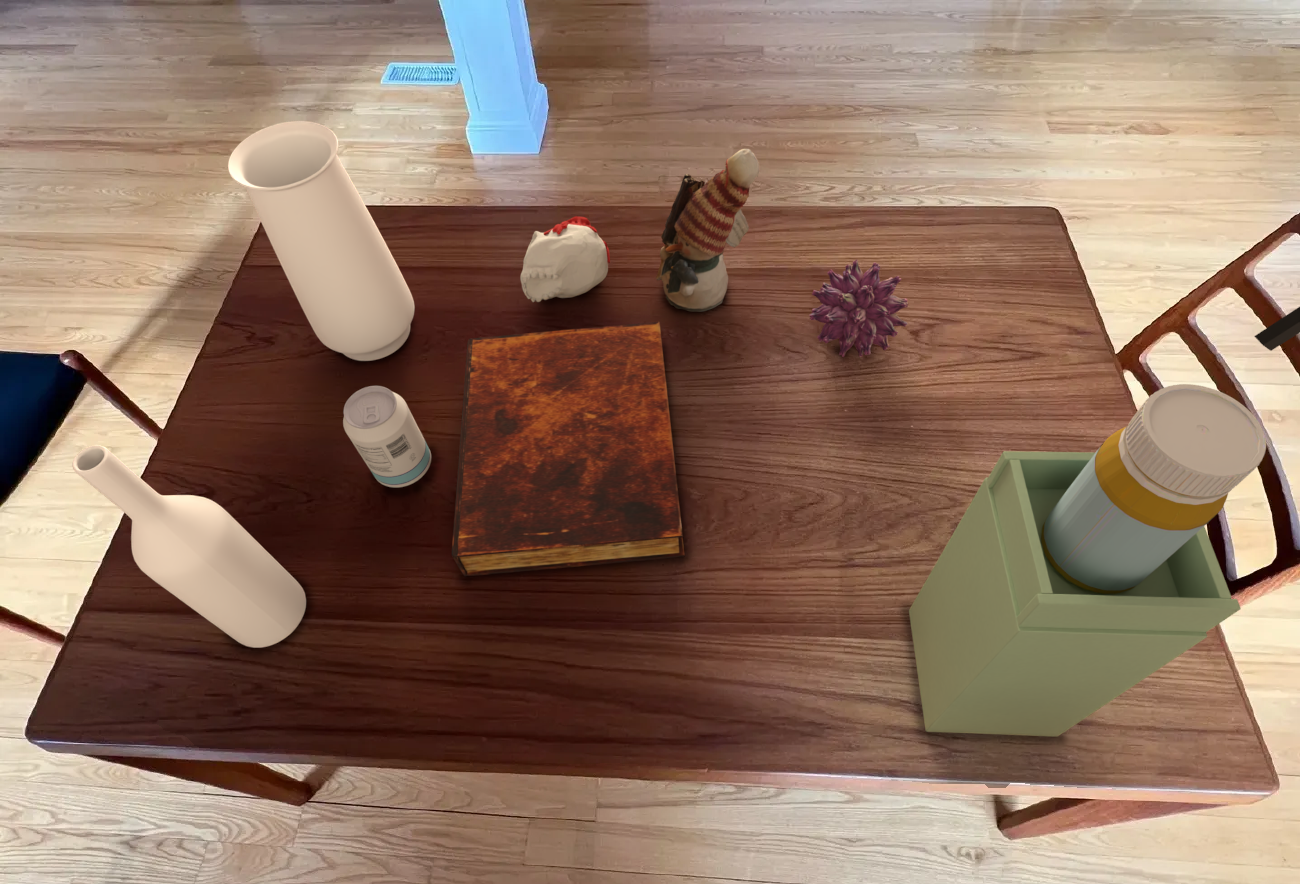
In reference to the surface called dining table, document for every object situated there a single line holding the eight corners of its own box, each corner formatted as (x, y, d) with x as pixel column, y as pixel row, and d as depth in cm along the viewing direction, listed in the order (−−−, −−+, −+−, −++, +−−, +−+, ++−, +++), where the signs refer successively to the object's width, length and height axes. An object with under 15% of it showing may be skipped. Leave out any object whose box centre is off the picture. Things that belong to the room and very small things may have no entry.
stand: (1029, 613, 80) (1180, 449, 55) (1058, 736, 73) (1243, 613, 48) (908, 610, 81) (1002, 447, 56) (925, 731, 74) (1040, 608, 49)
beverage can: (432, 437, 96) (401, 375, 86) (435, 485, 92) (403, 425, 82) (374, 449, 95) (337, 387, 85) (375, 497, 91) (336, 439, 81)
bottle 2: (1100, 617, 53) (1224, 506, 40) (1016, 541, 56) (1107, 417, 44) (1166, 560, 55) (1303, 438, 42) (1081, 490, 58) (1186, 358, 46)
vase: (430, 296, 109) (357, 113, 86) (412, 370, 102) (328, 191, 79) (338, 298, 110) (241, 117, 87) (314, 371, 103) (201, 195, 79)
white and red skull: (525, 317, 105) (540, 250, 115) (609, 316, 104) (617, 249, 114) (512, 261, 98) (530, 195, 108) (602, 260, 98) (612, 193, 108)
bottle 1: (238, 580, 86) (53, 420, 61) (312, 572, 86) (157, 409, 61) (222, 652, 82) (15, 511, 57) (301, 644, 82) (128, 499, 57)
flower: (791, 340, 103) (857, 284, 105) (859, 393, 97) (928, 333, 99) (783, 284, 94) (856, 223, 95) (858, 339, 88) (934, 274, 89)
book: (476, 364, 102) (466, 338, 98) (662, 348, 102) (660, 321, 98) (462, 576, 85) (450, 556, 81) (684, 556, 85) (683, 535, 81)
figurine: (669, 245, 112) (665, 119, 96) (756, 258, 110) (767, 130, 94) (645, 313, 105) (636, 189, 89) (738, 328, 103) (746, 204, 86)
